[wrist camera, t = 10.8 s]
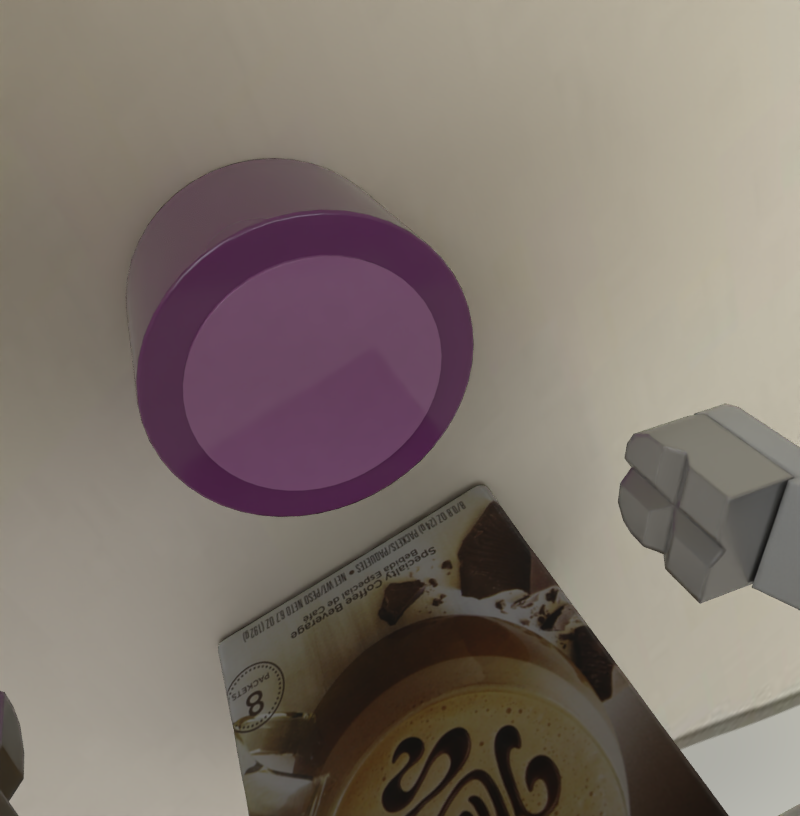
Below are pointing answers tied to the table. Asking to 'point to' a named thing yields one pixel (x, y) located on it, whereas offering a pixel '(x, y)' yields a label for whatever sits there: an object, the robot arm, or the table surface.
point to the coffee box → (445, 691)
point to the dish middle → (292, 339)
